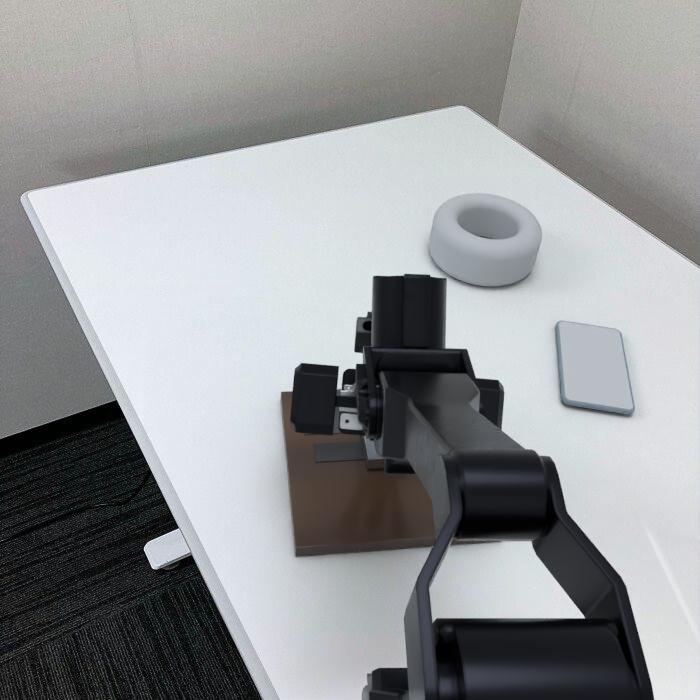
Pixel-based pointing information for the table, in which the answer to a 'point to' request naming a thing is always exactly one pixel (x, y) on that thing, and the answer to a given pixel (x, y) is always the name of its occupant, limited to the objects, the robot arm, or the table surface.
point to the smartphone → (593, 367)
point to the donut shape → (485, 239)
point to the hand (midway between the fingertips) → (390, 403)
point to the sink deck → (350, 496)
